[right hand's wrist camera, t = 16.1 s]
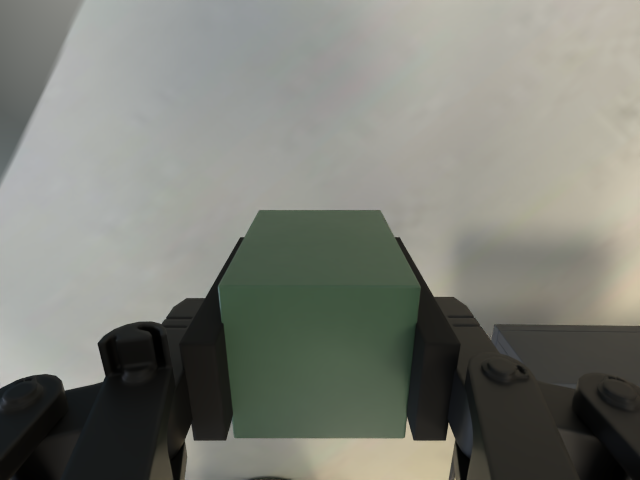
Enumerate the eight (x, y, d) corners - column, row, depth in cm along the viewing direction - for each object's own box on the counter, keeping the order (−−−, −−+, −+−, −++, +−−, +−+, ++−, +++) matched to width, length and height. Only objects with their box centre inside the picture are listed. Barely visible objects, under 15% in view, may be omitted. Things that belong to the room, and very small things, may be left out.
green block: (374, 315, 15) (405, 439, 10) (265, 315, 15) (233, 439, 10) (380, 209, 14) (421, 286, 8) (258, 209, 14) (216, 285, 8)
